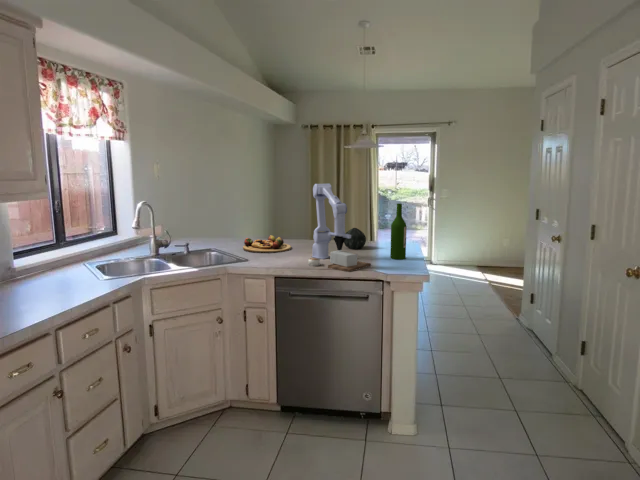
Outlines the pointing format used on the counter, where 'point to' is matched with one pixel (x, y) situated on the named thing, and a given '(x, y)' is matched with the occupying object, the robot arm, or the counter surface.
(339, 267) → the cutting board
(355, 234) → the squash
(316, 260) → the ramekin
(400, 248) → the wine bottle
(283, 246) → the wooden plate with food
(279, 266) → the counter surface
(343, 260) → the small box
